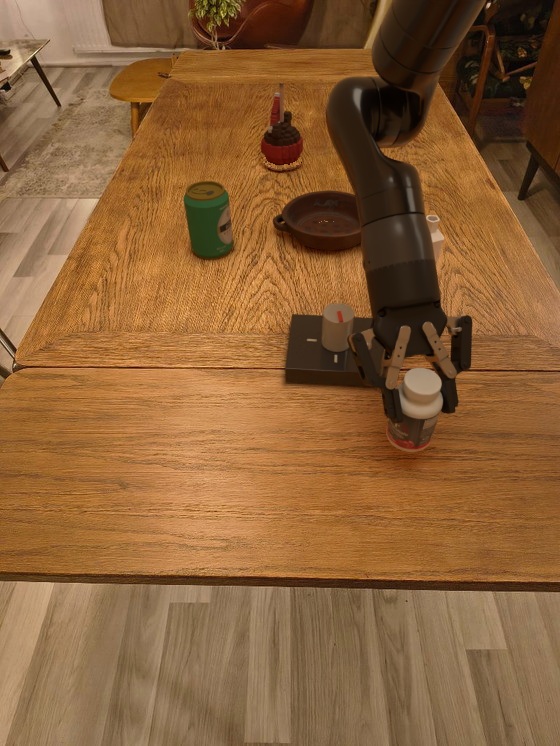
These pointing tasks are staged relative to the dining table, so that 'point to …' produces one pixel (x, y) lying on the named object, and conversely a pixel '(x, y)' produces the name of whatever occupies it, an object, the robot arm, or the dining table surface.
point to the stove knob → (337, 326)
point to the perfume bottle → (435, 234)
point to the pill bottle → (417, 410)
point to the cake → (281, 136)
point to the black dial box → (324, 355)
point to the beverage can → (208, 219)
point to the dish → (318, 207)
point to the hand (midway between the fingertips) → (423, 416)
